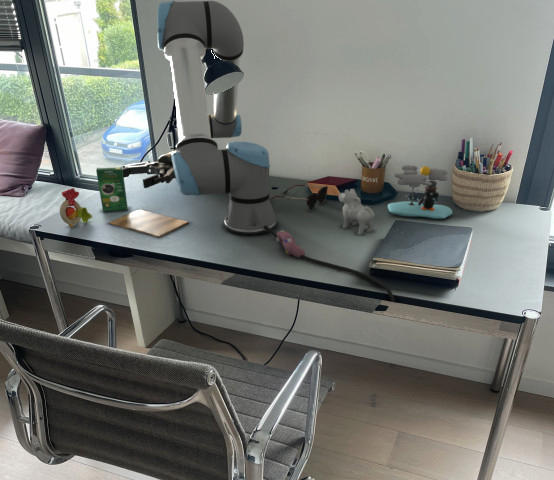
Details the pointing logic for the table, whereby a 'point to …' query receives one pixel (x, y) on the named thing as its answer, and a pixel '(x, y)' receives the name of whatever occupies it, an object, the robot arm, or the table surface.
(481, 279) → the table surface
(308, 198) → the sunglasses
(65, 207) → the bird rattle
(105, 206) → the coffee box
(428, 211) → the penguin figurine
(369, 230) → the dog figurine
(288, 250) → the pink animal figurine
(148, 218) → the wooden board
